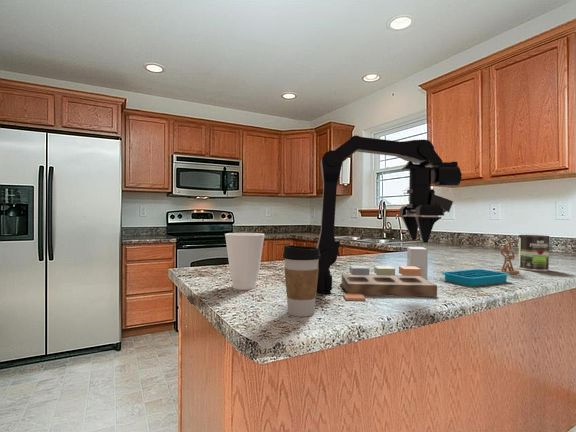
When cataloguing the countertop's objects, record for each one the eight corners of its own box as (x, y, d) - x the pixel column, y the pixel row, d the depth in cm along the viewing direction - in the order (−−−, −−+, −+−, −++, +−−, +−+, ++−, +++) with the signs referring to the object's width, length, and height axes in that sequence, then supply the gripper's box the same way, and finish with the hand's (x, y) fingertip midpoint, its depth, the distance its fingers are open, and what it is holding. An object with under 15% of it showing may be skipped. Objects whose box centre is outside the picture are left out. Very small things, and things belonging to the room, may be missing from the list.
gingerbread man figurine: (509, 271, 132) (509, 241, 132) (519, 273, 129) (520, 242, 128) (495, 273, 128) (495, 242, 128) (505, 275, 124) (506, 243, 124)
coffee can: (554, 272, 133) (555, 236, 133) (526, 271, 134) (526, 235, 134) (539, 267, 143) (540, 234, 143) (513, 267, 145) (513, 234, 144)
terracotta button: (403, 275, 98) (403, 268, 98) (398, 272, 103) (398, 266, 103) (421, 276, 98) (421, 269, 98) (415, 272, 103) (415, 266, 103)
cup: (259, 282, 108) (259, 232, 108) (268, 290, 97) (269, 234, 97) (221, 284, 105) (222, 232, 104) (227, 292, 93) (227, 235, 93)
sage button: (377, 275, 98) (377, 268, 98) (374, 272, 103) (374, 265, 103) (395, 275, 98) (395, 268, 98) (390, 272, 103) (390, 266, 103)
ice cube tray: (439, 281, 114) (439, 272, 114) (479, 277, 122) (479, 268, 122) (470, 288, 103) (470, 278, 103) (512, 283, 112) (512, 274, 112)
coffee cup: (281, 307, 79) (281, 244, 79) (316, 307, 80) (317, 244, 80) (283, 319, 71) (284, 247, 71) (323, 318, 71) (323, 247, 71)
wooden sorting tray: (348, 294, 92) (348, 283, 92) (341, 283, 107) (341, 274, 107) (436, 296, 91) (437, 285, 91) (417, 284, 106) (417, 275, 106)
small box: (427, 280, 114) (427, 249, 114) (410, 279, 115) (410, 248, 115) (423, 275, 122) (423, 246, 122) (406, 275, 123) (407, 246, 123)
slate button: (352, 274, 99) (352, 268, 99) (349, 272, 104) (349, 265, 104) (369, 275, 98) (369, 268, 98) (365, 272, 103) (366, 265, 103)
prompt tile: (345, 300, 86) (345, 298, 86) (343, 295, 91) (343, 293, 91) (365, 300, 86) (365, 298, 86) (361, 295, 91) (361, 293, 91)
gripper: (465, 183, 85) (464, 244, 85) (435, 188, 104) (435, 239, 104) (420, 183, 86) (420, 244, 86) (399, 188, 104) (398, 238, 104)
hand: (419, 241), depth 95 cm, fingers open, 9 cm apart
